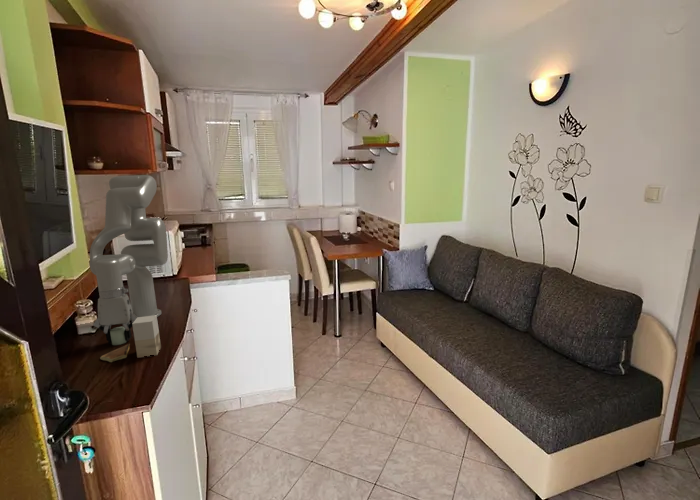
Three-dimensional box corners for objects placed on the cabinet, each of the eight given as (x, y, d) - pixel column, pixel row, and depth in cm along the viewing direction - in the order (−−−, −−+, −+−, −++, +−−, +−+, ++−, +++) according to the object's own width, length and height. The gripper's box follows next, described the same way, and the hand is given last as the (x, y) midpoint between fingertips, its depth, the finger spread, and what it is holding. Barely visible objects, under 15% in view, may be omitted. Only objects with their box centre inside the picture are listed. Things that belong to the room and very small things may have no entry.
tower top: (139, 333, 131) (137, 317, 130) (158, 331, 132) (156, 315, 131) (134, 340, 125) (132, 323, 124) (154, 338, 127) (152, 321, 126)
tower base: (142, 350, 132) (139, 333, 131) (161, 347, 134) (158, 331, 132) (137, 357, 126) (134, 340, 125) (157, 355, 128) (154, 338, 127)
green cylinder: (114, 340, 141) (112, 327, 140) (129, 338, 142) (127, 326, 141) (109, 346, 136) (107, 332, 135) (125, 344, 137) (123, 331, 136)
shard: (130, 347, 136) (129, 342, 136) (144, 350, 133) (144, 345, 132) (99, 360, 126) (98, 355, 126) (114, 364, 123) (113, 359, 123)
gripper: (141, 287, 141) (147, 333, 145) (89, 292, 137) (97, 340, 141) (135, 293, 134) (142, 341, 138) (80, 299, 130) (89, 348, 134)
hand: (119, 340), depth 139 cm, fingers closed on green cylinder, 4 cm apart
